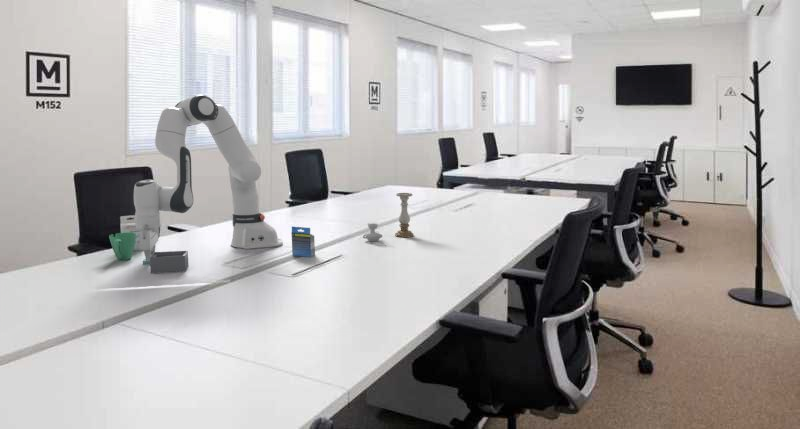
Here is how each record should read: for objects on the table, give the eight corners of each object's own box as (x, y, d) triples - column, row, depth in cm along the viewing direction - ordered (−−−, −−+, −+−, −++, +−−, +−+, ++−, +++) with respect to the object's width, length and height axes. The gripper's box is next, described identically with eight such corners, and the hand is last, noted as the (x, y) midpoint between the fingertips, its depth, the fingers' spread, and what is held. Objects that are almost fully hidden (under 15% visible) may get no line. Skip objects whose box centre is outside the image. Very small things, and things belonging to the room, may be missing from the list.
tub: (188, 267, 236) (187, 250, 235) (185, 273, 228) (184, 255, 226) (155, 269, 234) (154, 252, 233) (151, 275, 225) (149, 257, 224)
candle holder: (393, 237, 295) (393, 194, 291) (396, 233, 303) (396, 192, 300) (412, 237, 293) (412, 195, 290) (414, 234, 302) (414, 192, 299)
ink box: (123, 252, 263) (121, 217, 261) (121, 250, 267) (119, 216, 265) (145, 249, 268) (142, 216, 265) (142, 247, 272) (140, 214, 269)
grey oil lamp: (381, 239, 290) (381, 221, 289) (383, 242, 283) (383, 224, 282) (362, 240, 288) (361, 222, 287) (363, 242, 282) (363, 224, 281)
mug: (115, 256, 255) (113, 232, 253) (140, 256, 256) (138, 232, 255) (104, 265, 240) (102, 239, 239) (130, 264, 242) (129, 239, 240)
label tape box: (315, 255, 257) (314, 226, 255) (310, 257, 253) (310, 227, 251) (296, 253, 260) (295, 224, 258) (291, 255, 256) (290, 226, 254)
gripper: (152, 227, 229) (155, 263, 231) (160, 218, 248) (163, 251, 251) (134, 227, 227) (136, 264, 230) (143, 218, 247) (146, 252, 249)
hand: (150, 258), depth 240 cm, fingers open, 8 cm apart
